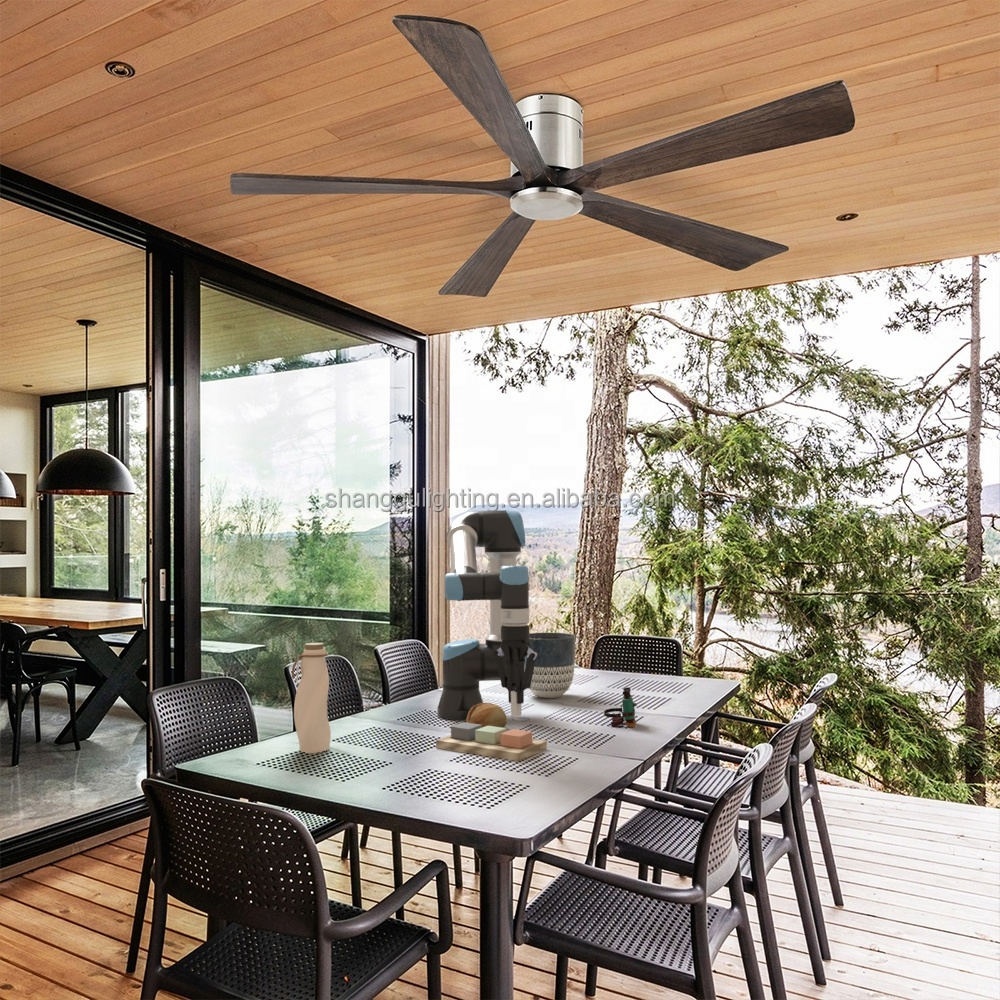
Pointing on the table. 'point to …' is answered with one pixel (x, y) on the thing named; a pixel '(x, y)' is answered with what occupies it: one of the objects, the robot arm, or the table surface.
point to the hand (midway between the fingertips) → (516, 715)
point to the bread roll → (487, 715)
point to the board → (491, 748)
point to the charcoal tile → (464, 731)
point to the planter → (552, 663)
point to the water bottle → (312, 700)
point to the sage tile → (489, 734)
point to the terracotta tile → (516, 738)
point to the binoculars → (627, 711)
